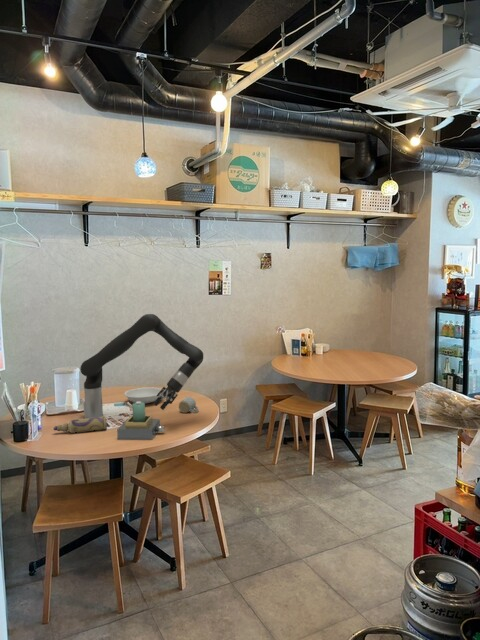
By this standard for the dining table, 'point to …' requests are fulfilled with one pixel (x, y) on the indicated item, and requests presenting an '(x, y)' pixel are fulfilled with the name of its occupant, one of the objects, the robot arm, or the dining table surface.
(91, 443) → the dining table surface
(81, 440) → the dining table surface
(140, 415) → the oil can
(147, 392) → the soup bowl
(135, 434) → the grey metal block
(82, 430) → the decorative bottle
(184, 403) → the ceramic mug
